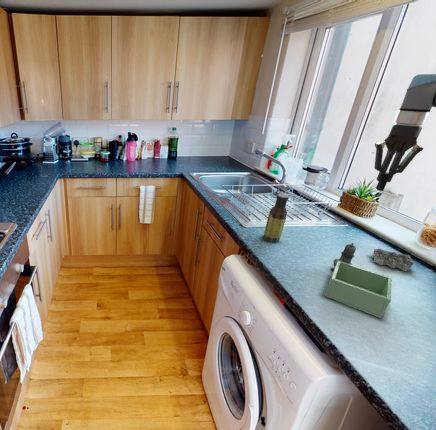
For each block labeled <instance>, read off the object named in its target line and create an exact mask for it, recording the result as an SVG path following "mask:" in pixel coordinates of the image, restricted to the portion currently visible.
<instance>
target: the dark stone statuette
mask: <svg viewBox="0 0 436 430" xmlns="http://www.w3.org/2000/svg"><path fill="white" fill-rule="evenodd" d="M356 250H357V247H356V246H355V245H354V242H351V243H350V244H345V246H344V248H343V250H342V251H341V252H340V254H341V255H340V257H339V258H335V259H333V267H331V268H330V271H331V272H332V273H333V271H334V269H335V266H336V264H337V262H338V261H341V262H344V263H347V264H350V265H353V266H355V265H354V264H353V263H352V260H353V258H355V255H354V254H355V252H356Z"/></svg>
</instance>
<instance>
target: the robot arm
mask: <svg viewBox="0 0 436 430" xmlns="http://www.w3.org/2000/svg"><path fill="white" fill-rule="evenodd" d="M432 108H436V73H419V74H416V75H414V76H413V78H412V79H411V81H410V83H409V85H408V87H407V89H406V92H405V95H404V97H403V99H402V102H401V105H400V107H399V109H398V112H397V114H396V116H395V119H394V121H393V122H394V123H393V124H392V126H391V128H390V130H389V133H388V136H387V137H386V138H385V139H384V140H383V141H380V142H376V143H374V147H375V159H374V167H373V168H374V170H376V171H377V172H378V175H377V176H376V181H377V185H376V187H375V189H376V190H377V191H378V192H384V191H385V188H386V186H387V184H388V183H391V182H392V180H393V178H394V176H395V175H396V174H402V173H403V172H404V171H405V170H406V168H407V167H408V166H409V165H410V164H411V162H412V161H413V160H414V159H415V157H416V156H417V155H418V154H419V153H421V152H422V151H424V147H422V146H420V145H419V144H418V138H419V136H420V134H421V132H422V129H423V125H425V123H426V121H427V119H428V116H429V114H430V112H431V110H432ZM385 147H386V149H387V150H386V154H385V157H384V159H383V156H384V148H385ZM409 150H410V151H409ZM408 151H409V152H408ZM406 152H408V153H407V154H406ZM405 154H406V155H405ZM404 156H405V157H404ZM403 157H404V158H403Z"/></svg>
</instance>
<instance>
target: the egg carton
mask: <svg viewBox="0 0 436 430" xmlns="http://www.w3.org/2000/svg"><path fill="white" fill-rule="evenodd" d="M371 258H372V259H373V262H374V263H376V264H378V265H379V266H383V265H384V266H388V267H389V268H392V269H395V268H398V269H400V270H401V271H404V272H407V271H411V269H412V267H415V265H414V262H413V259H412V258H411V255H410V254H405V253H404V254H401V253H397V252H394V251H389V250H385V249H383V248H373V253H372V255H371Z"/></svg>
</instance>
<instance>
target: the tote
mask: <svg viewBox="0 0 436 430" xmlns="http://www.w3.org/2000/svg"><path fill="white" fill-rule="evenodd" d="M353 265H354V264H353ZM353 265H350V264H347V263H344V262H341V261H338V262H337V264H336V266H335V269H334V271H333V272H332V274H331V276H330V279H329V282H328V283H327V287H326V290H325V293H324V295H323V296H324V297H326V298H329V299H330V300H331V299H332V300H334V301H336V302H338V303H342V304H344V305H346V306H349V307H351V308H354V309H356V310H359V311H361V312H364V313H367V314H369V315H371V316H374V317H376V318H379V319H382V317H383V316H384V314H385V312H386V310H387V309H388V307H389V305H390V303H391V301H392V286H393V285H392V284H393V281H392V280H393V278H392V277H390V276H387V275H384V274H381V273H378V272H375V271H372V270H368V269H365V268H362V267H360V266H356V265H354V266H353Z"/></svg>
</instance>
